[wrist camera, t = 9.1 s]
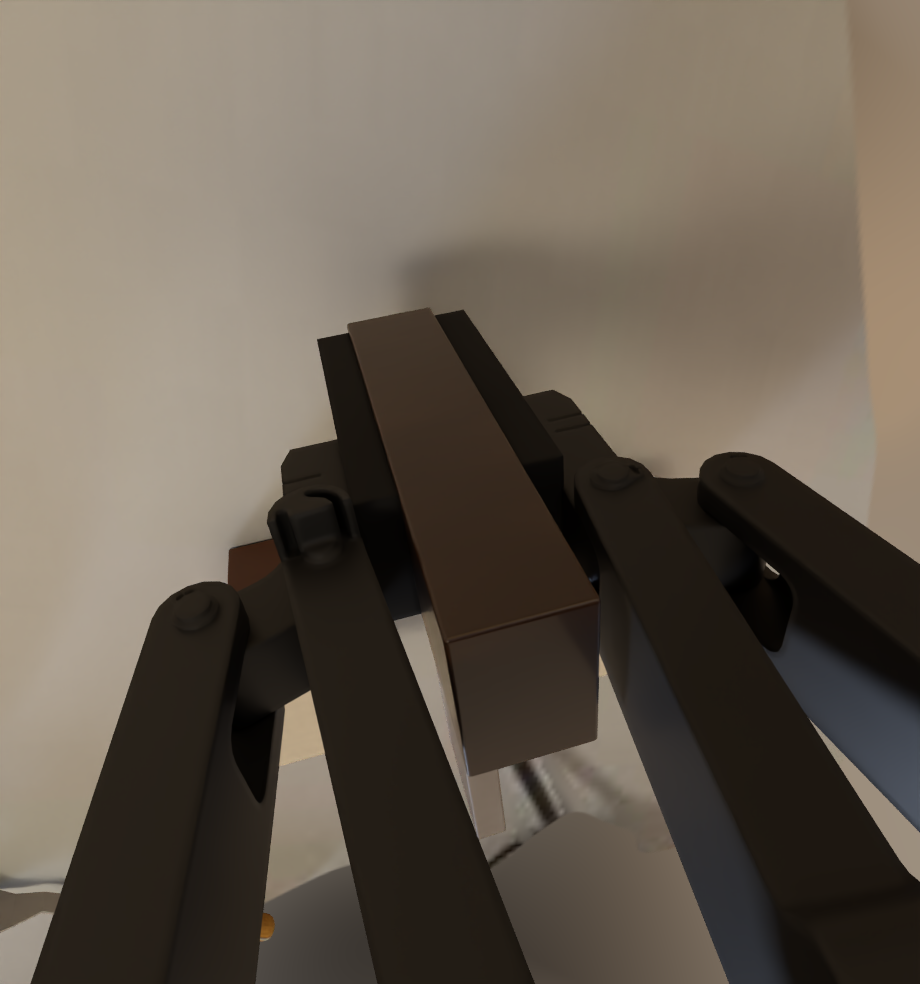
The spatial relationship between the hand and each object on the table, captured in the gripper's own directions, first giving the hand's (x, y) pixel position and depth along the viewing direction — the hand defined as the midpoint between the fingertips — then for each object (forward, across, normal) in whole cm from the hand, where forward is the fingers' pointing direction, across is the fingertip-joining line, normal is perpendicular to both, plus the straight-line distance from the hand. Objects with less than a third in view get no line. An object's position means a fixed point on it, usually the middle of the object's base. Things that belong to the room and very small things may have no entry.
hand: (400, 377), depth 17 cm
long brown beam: (0, 0, -7) cm, 7 cm away
